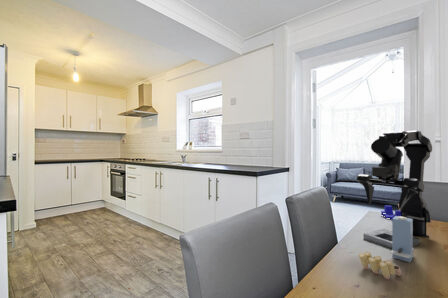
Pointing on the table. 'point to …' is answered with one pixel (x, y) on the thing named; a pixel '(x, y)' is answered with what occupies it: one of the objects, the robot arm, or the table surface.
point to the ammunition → (379, 265)
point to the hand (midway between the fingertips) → (383, 205)
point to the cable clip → (390, 212)
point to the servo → (402, 238)
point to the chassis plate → (380, 234)
